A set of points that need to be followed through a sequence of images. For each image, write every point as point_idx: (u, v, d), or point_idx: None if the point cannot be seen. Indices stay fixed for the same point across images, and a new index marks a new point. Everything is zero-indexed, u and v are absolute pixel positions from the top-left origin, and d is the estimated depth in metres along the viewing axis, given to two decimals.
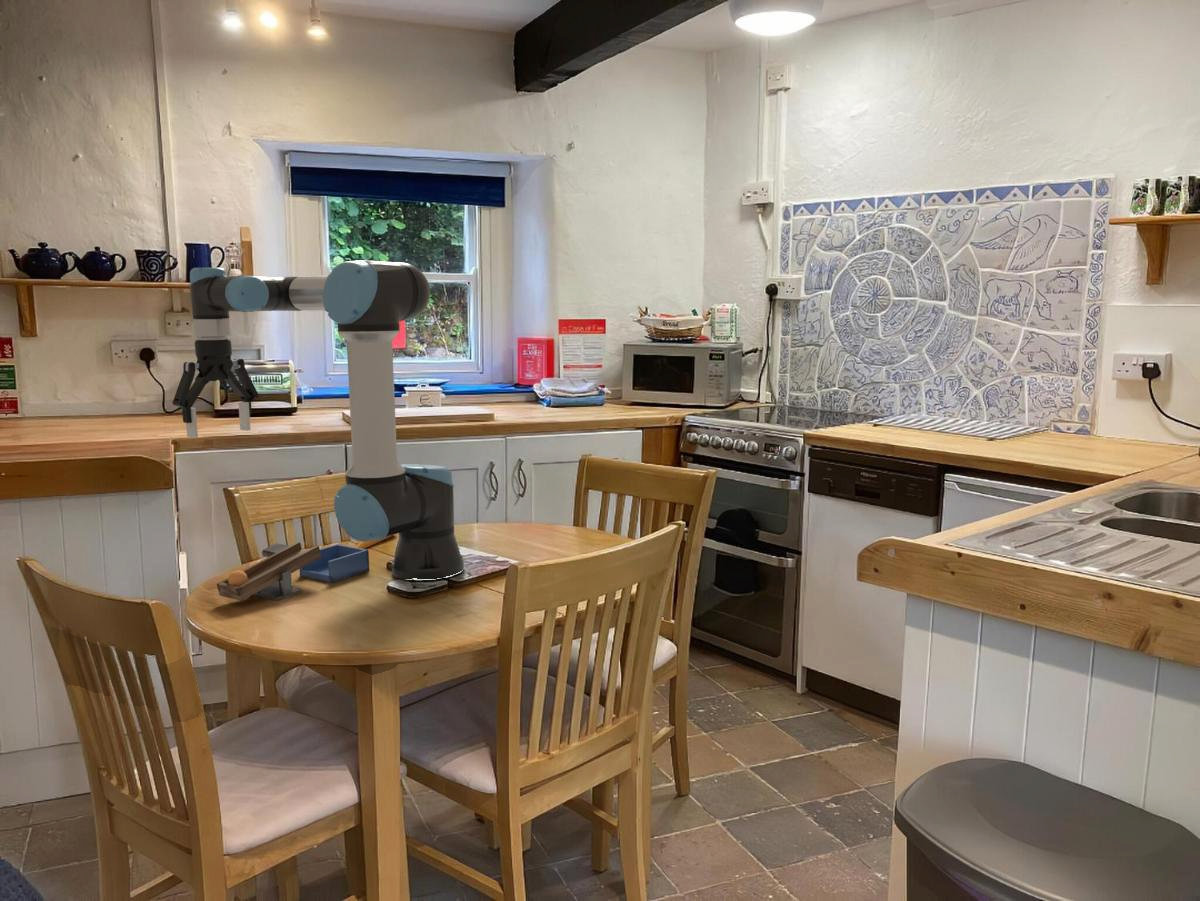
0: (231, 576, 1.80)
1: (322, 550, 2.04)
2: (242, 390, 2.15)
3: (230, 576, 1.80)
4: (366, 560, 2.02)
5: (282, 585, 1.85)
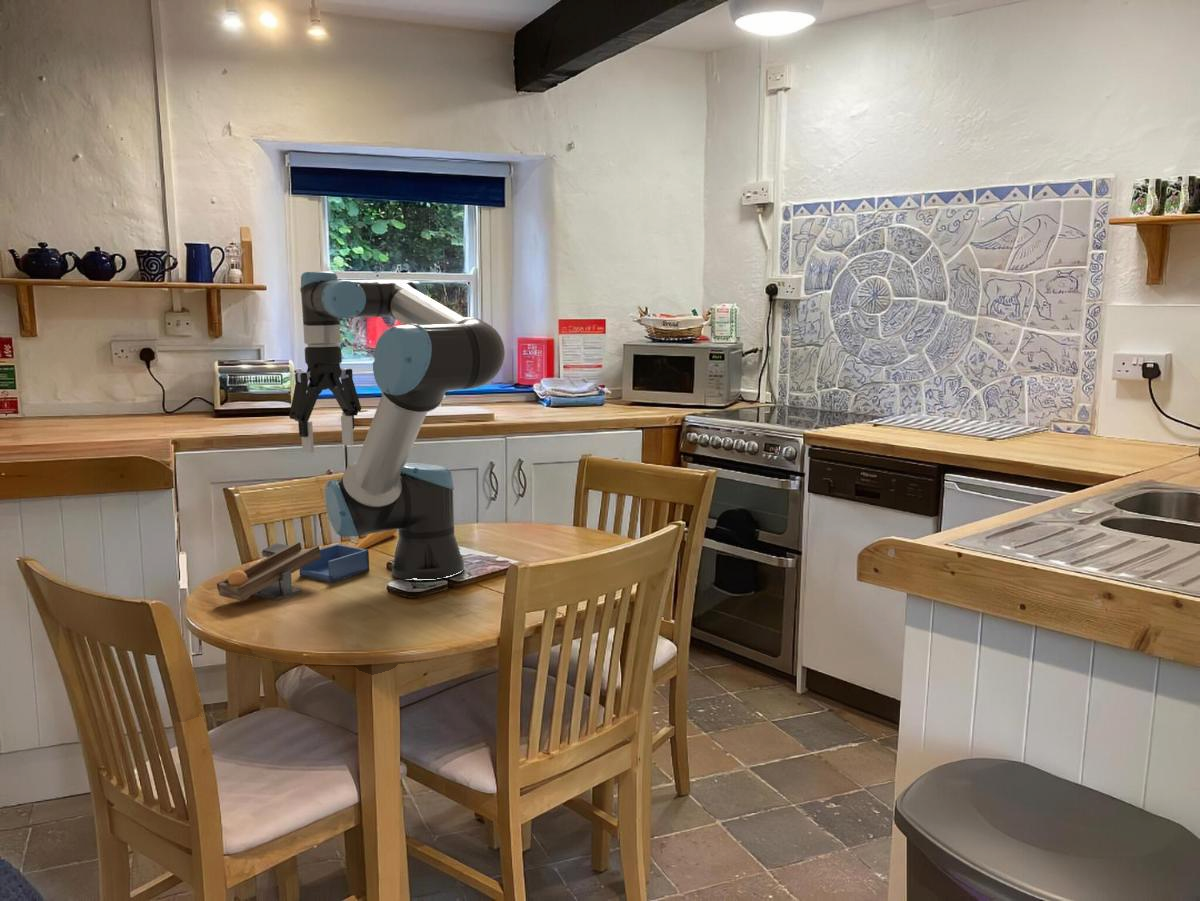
0: (231, 576, 1.80)
1: (322, 550, 2.04)
2: (347, 402, 2.06)
3: (230, 576, 1.80)
4: (366, 560, 2.02)
5: (282, 585, 1.85)
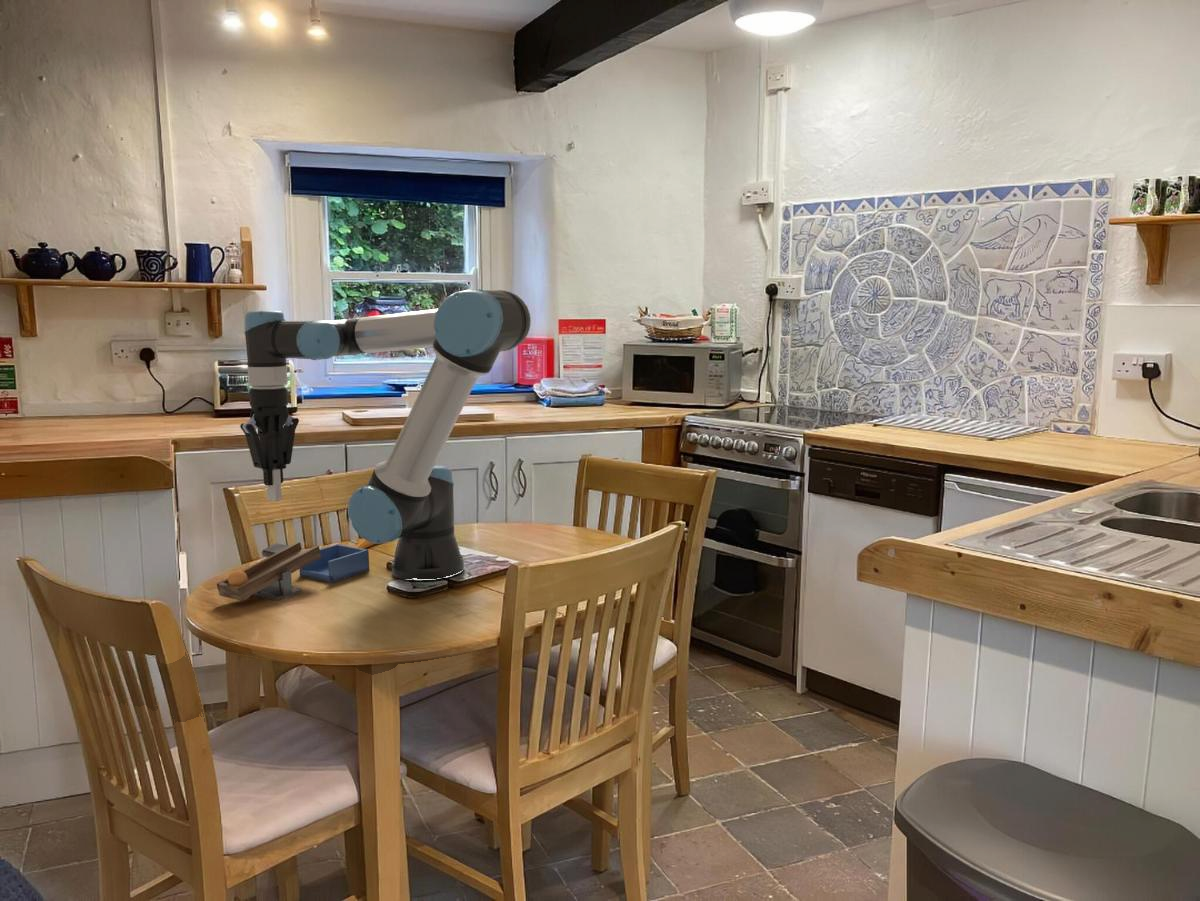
0: (231, 576, 1.80)
1: (322, 550, 2.04)
2: (280, 452, 1.96)
3: (230, 576, 1.80)
4: (366, 560, 2.02)
5: (282, 585, 1.85)
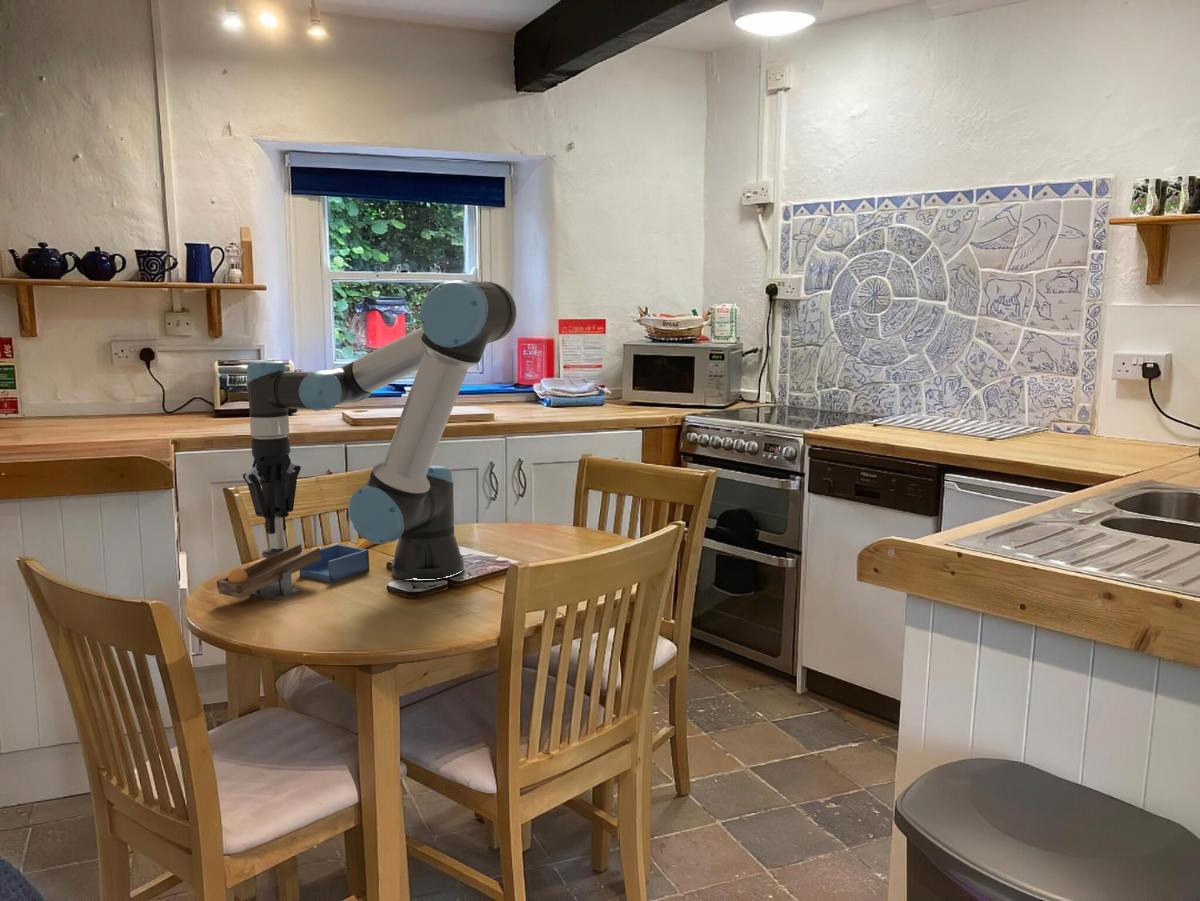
0: (231, 574, 1.80)
1: (322, 550, 2.04)
2: (282, 500, 1.97)
3: (230, 574, 1.80)
4: (366, 560, 2.02)
5: (282, 585, 1.85)
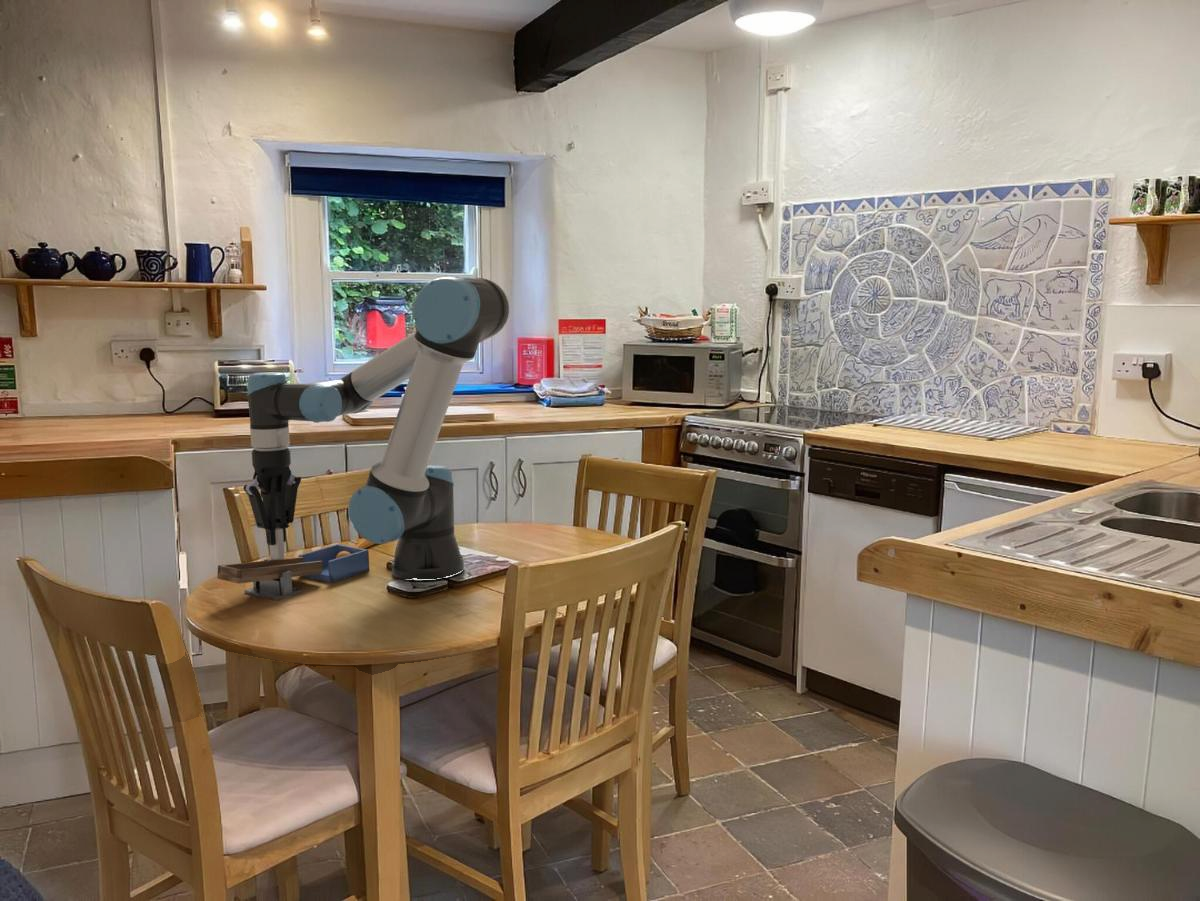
0: None
1: (322, 550, 2.04)
2: (282, 511, 1.97)
3: None
4: (366, 560, 2.02)
5: (282, 585, 1.85)
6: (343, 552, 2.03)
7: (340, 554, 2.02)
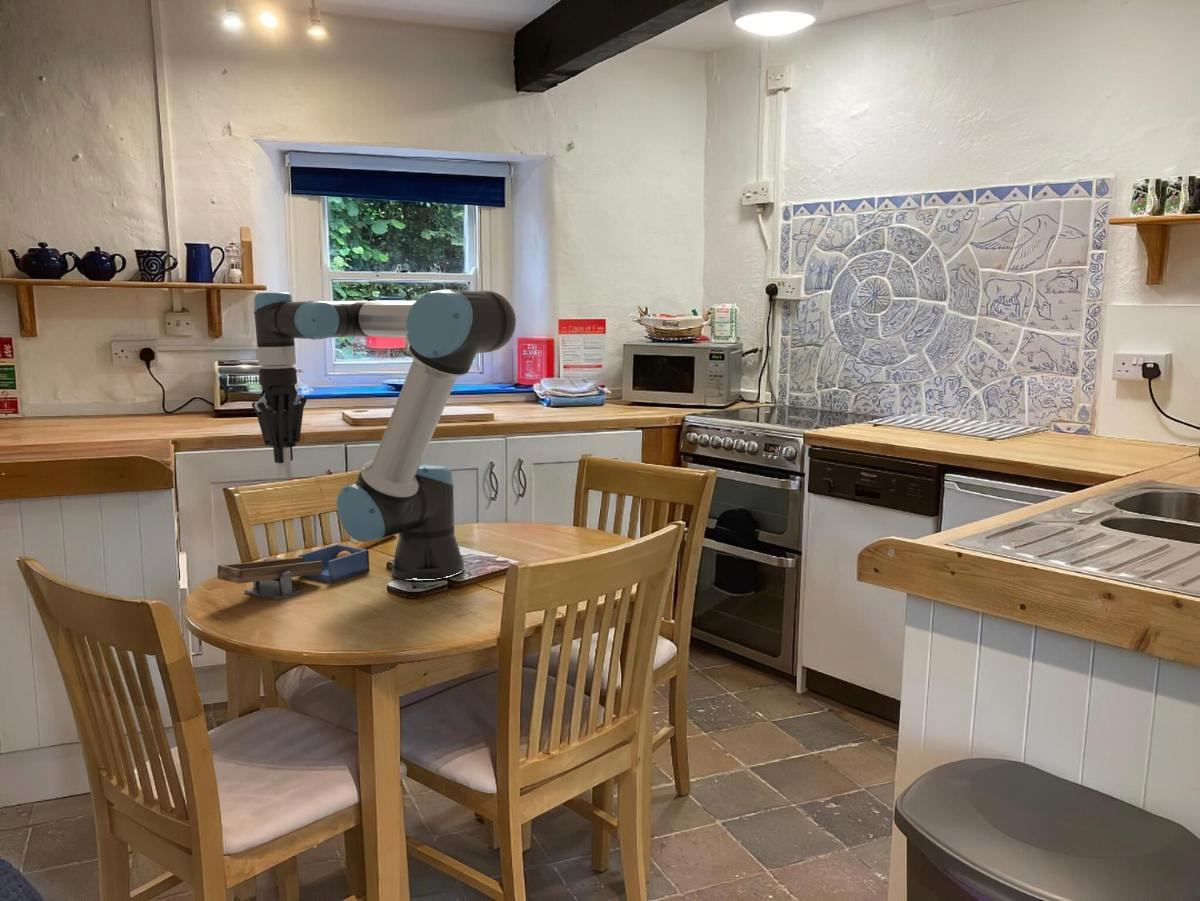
0: None
1: (322, 550, 2.04)
2: (289, 430, 2.01)
3: None
4: (366, 560, 2.02)
5: (282, 585, 1.85)
6: (344, 552, 2.03)
7: (341, 553, 2.02)
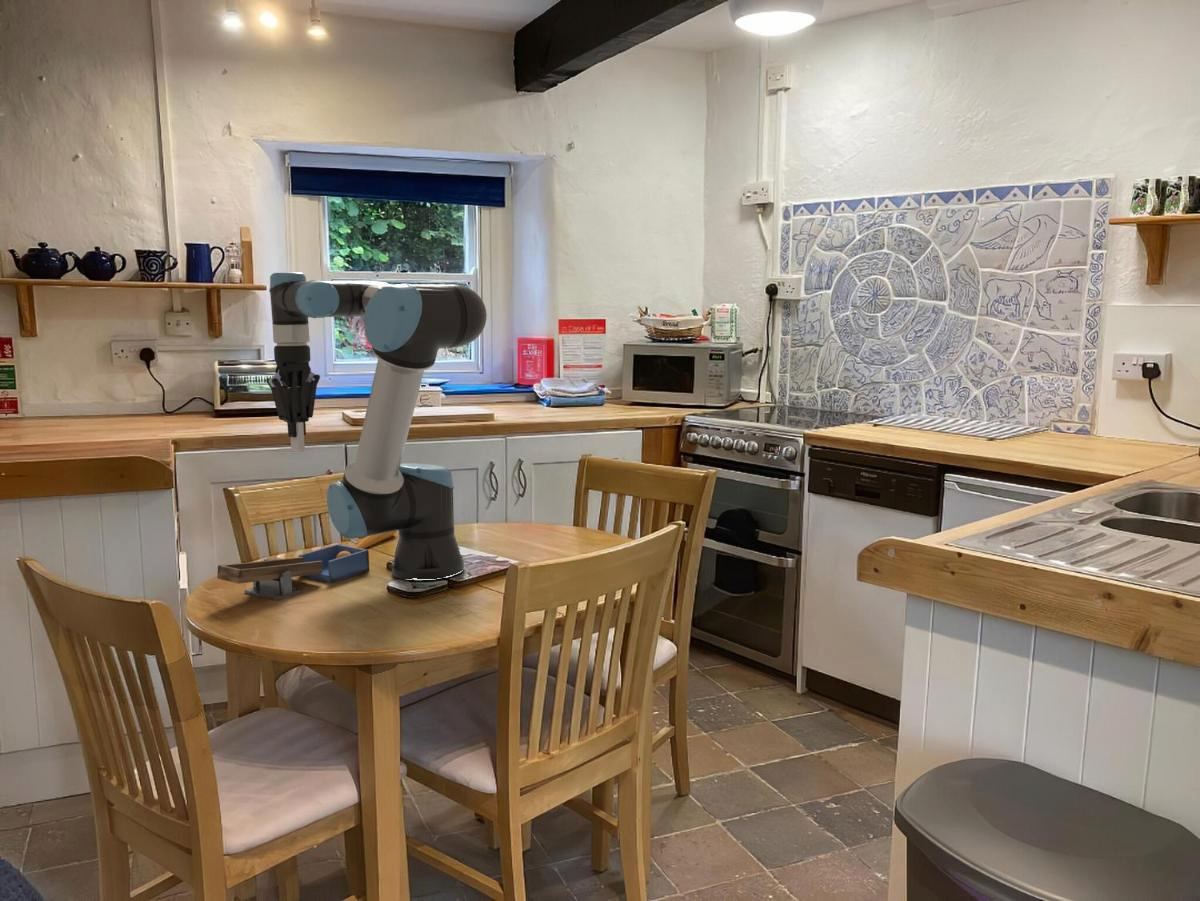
0: None
1: (322, 550, 2.04)
2: (303, 406, 2.09)
3: None
4: (366, 560, 2.02)
5: (282, 585, 1.85)
6: (344, 552, 2.03)
7: (341, 553, 2.02)
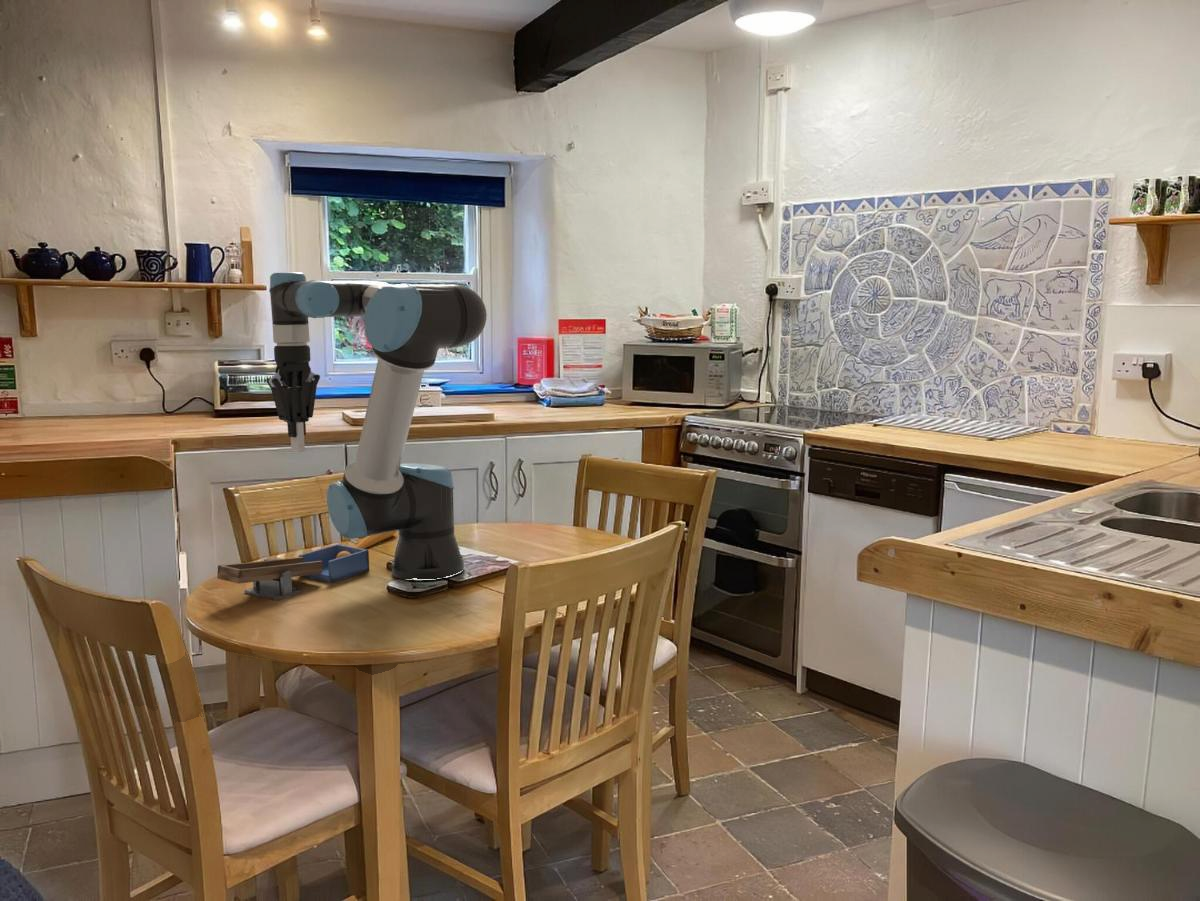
0: None
1: (322, 550, 2.04)
2: (303, 406, 2.09)
3: None
4: (366, 560, 2.02)
5: (282, 585, 1.85)
6: (343, 552, 2.03)
7: (340, 554, 2.02)
